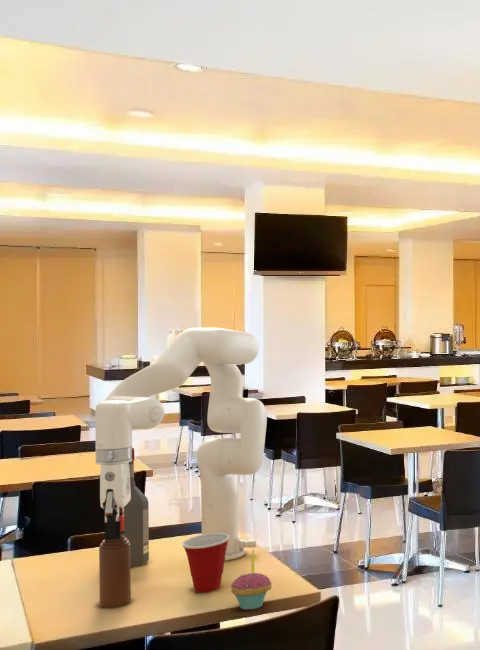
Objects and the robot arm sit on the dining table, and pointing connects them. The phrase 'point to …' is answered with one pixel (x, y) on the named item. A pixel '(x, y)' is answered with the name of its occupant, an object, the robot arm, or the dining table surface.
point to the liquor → (137, 522)
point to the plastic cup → (206, 560)
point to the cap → (122, 522)
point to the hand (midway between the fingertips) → (114, 536)
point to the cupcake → (251, 588)
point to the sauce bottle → (114, 572)
